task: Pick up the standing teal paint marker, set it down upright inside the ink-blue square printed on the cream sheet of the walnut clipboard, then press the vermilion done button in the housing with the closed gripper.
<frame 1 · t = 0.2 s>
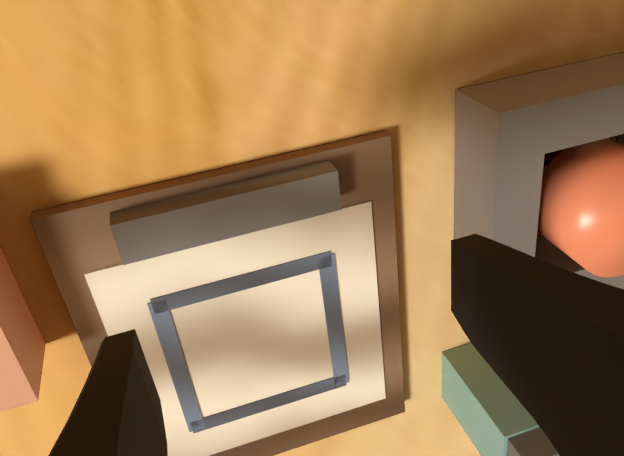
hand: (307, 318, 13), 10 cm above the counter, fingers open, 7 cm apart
button housing: (556, 176, 26), on the counter
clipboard: (252, 326, 25), on the counter
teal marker: (469, 366, 31), on the counter
done button: (605, 206, 24), point 3 cm above the counter, slide at 0.0 cm
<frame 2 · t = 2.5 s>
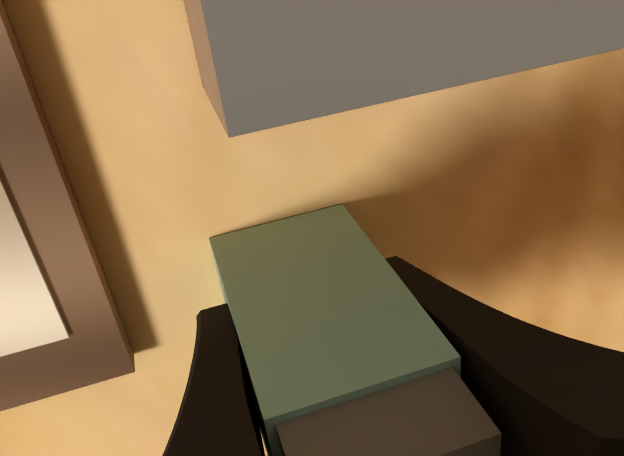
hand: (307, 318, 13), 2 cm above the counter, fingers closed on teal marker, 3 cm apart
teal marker: (287, 276, 15), on the counter, touching gripper
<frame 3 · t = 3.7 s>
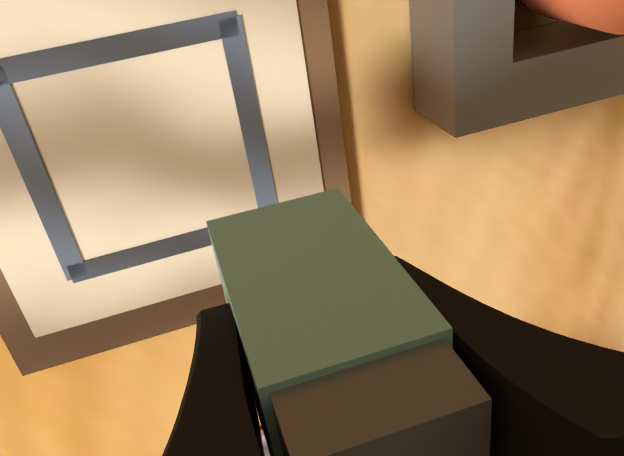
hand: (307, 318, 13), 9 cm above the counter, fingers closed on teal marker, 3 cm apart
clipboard: (143, 133, 19), on the counter
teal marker: (283, 260, 15), point 7 cm above the counter, touching gripper
when the fingers open (3 cm above the counter, at t = 5.3 s): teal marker stays where it is, resting on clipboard.
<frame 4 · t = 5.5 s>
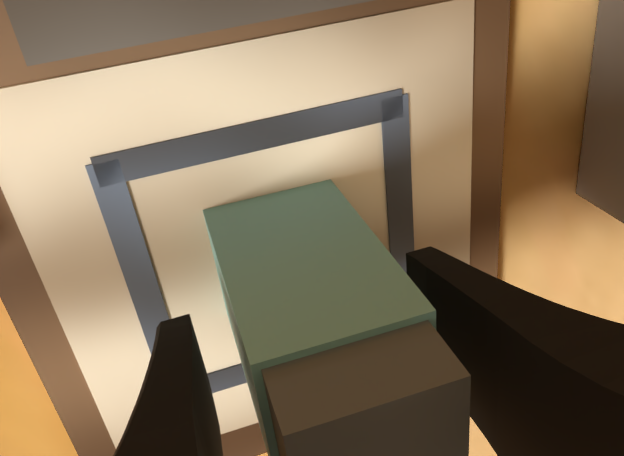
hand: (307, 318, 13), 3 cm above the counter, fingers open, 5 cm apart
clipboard: (269, 229, 16), on the counter
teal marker: (277, 249, 15), point 1 cm above the counter, touching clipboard
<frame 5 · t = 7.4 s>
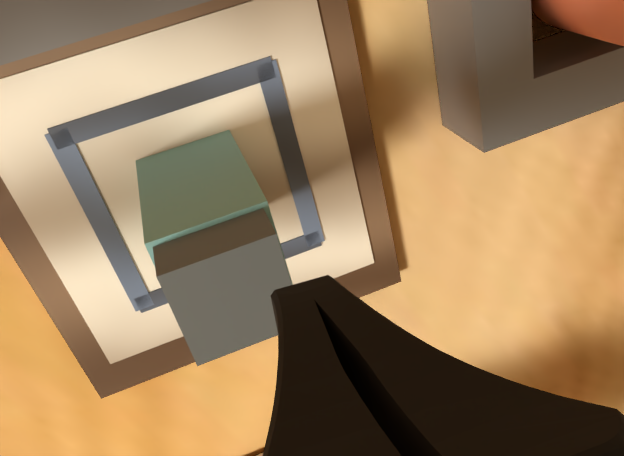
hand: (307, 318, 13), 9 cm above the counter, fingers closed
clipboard: (193, 173, 21), on the counter
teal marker: (198, 186, 20), point 1 cm above the counter, touching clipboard
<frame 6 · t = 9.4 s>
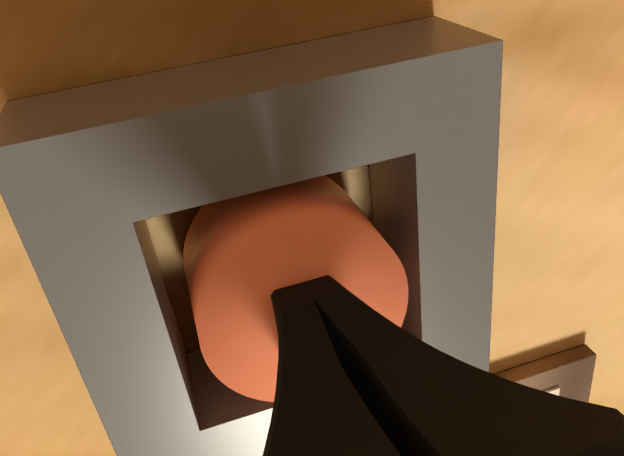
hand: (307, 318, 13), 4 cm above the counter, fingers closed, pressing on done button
button housing: (270, 239, 16), on the counter
done button: (290, 282, 14), point 2 cm above the counter, slide at 0.9 cm, touching gripper
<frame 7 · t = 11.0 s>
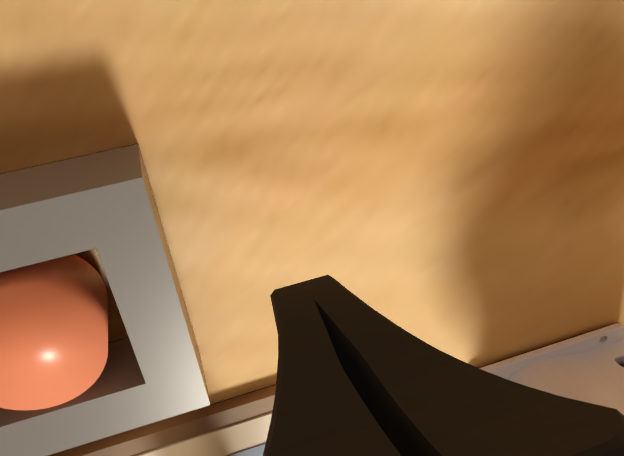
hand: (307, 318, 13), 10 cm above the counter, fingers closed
button housing: (40, 295, 22), on the counter
done button: (35, 327, 21), point 2 cm above the counter, slide at 1.1 cm
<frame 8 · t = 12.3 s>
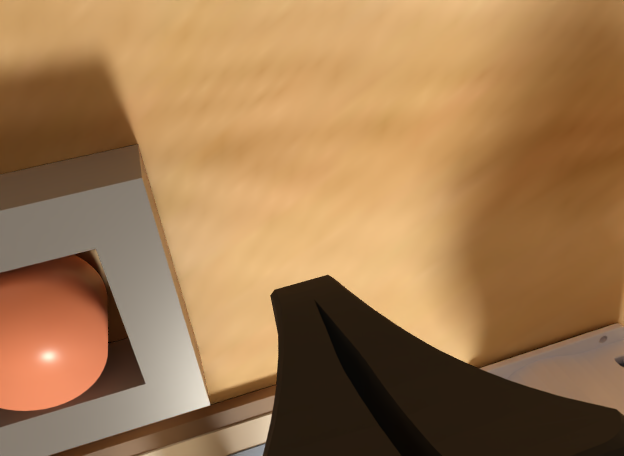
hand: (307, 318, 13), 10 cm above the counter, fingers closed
button housing: (40, 296, 22), on the counter
done button: (35, 327, 21), point 2 cm above the counter, slide at 1.1 cm
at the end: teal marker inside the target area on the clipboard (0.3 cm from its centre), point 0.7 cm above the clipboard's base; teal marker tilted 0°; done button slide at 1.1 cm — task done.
